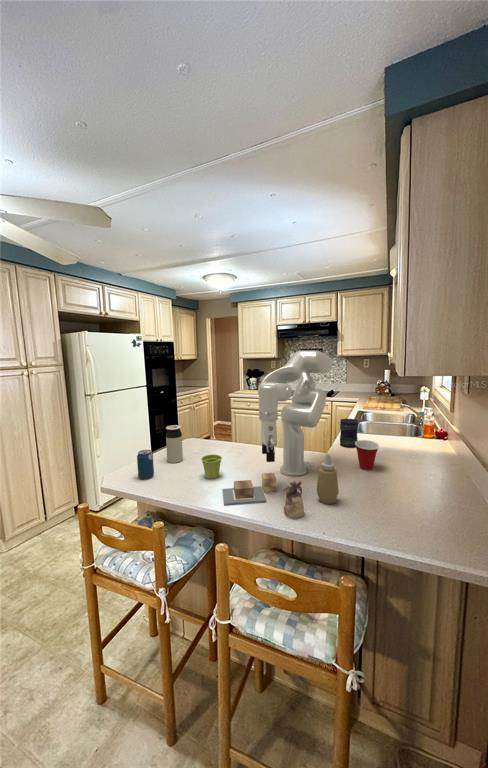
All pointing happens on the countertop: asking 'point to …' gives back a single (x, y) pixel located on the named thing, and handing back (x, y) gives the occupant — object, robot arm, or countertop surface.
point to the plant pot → (211, 465)
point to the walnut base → (243, 489)
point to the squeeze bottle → (327, 482)
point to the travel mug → (174, 444)
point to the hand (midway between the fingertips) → (268, 457)
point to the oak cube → (269, 482)
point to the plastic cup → (366, 453)
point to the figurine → (293, 500)
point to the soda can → (145, 464)
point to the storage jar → (348, 433)
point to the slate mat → (230, 498)
